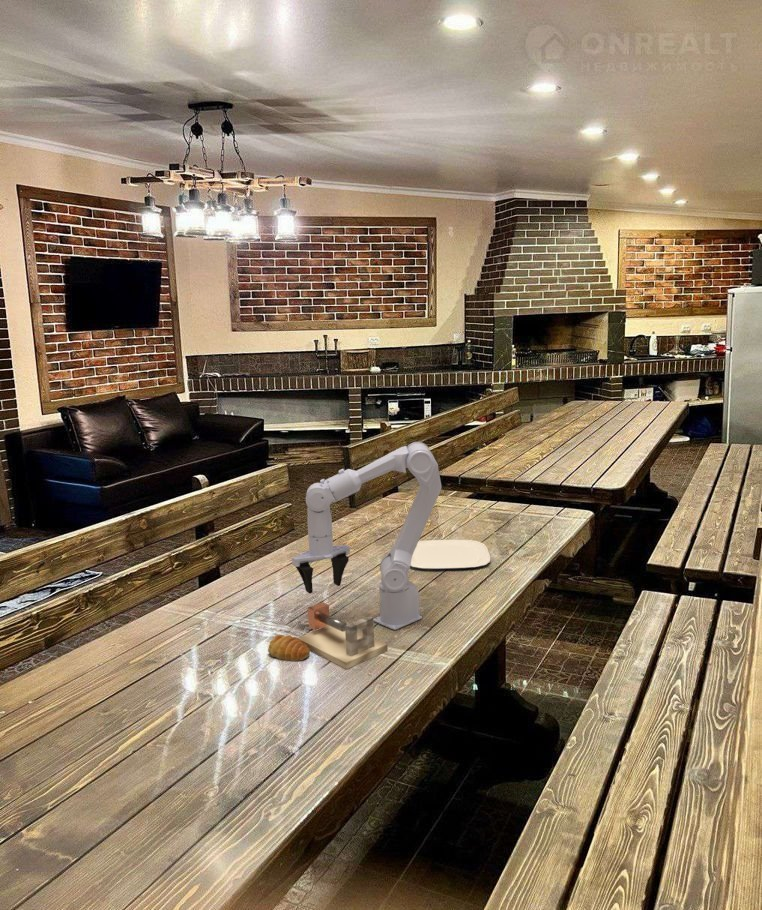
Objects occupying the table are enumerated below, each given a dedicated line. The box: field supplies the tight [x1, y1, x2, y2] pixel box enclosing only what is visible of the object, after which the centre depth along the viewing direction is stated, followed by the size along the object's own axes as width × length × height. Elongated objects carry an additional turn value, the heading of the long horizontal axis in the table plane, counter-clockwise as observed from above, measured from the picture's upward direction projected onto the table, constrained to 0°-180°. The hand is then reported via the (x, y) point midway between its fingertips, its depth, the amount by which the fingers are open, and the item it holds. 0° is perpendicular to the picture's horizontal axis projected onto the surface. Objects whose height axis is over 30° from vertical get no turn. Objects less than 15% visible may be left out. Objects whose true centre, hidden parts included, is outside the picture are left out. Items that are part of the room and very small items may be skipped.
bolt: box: [307, 601, 348, 632], centre depth 175 cm, size 4×10×5 cm, turn 43°
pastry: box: [267, 634, 311, 662], centre depth 170 cm, size 9×7×4 cm
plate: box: [410, 539, 491, 570], centre depth 230 cm, size 25×25×2 cm
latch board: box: [296, 615, 388, 670], centre depth 172 cm, size 12×18×8 cm
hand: (323, 588), depth 183 cm, fingers open, 7 cm apart
